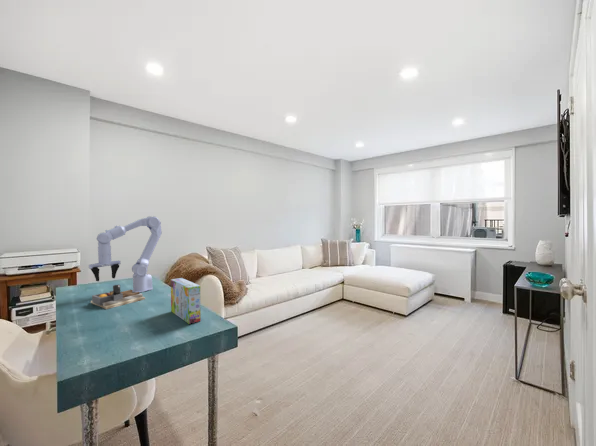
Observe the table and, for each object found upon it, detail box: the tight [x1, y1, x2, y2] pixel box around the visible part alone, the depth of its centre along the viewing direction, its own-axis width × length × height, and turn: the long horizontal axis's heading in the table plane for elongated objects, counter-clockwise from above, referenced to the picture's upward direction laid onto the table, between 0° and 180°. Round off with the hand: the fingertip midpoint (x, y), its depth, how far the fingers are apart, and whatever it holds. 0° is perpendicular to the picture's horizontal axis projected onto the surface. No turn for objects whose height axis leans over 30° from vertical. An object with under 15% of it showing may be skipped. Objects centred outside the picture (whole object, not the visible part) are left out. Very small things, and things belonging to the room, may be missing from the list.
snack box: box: [170, 277, 202, 325], centre depth 122 cm, size 21×6×15 cm, turn 43°
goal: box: [91, 292, 112, 305], centre depth 140 cm, size 6×9×3 cm
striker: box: [107, 284, 123, 301], centre depth 141 cm, size 4×10×8 cm, turn 56°
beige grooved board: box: [90, 289, 146, 310], centre depth 145 cm, size 18×18×3 cm
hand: (105, 279), depth 152 cm, fingers open, 7 cm apart
